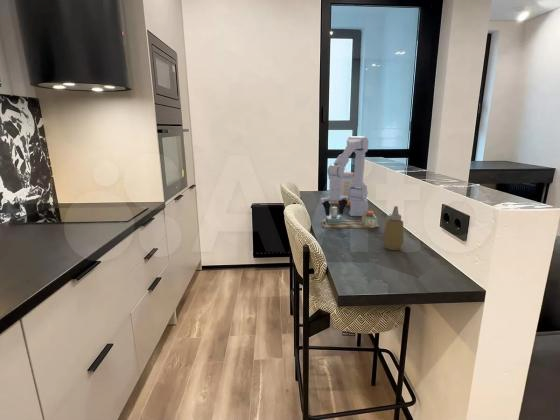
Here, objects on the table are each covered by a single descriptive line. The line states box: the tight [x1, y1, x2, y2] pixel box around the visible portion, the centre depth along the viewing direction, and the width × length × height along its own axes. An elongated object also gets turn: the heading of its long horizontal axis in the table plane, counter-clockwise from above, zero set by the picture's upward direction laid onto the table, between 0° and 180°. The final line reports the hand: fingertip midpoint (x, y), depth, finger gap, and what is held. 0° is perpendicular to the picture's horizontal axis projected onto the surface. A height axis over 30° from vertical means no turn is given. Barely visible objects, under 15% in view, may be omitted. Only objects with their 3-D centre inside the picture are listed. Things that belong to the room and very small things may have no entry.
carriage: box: [326, 206, 343, 224], centre depth 166 cm, size 7×7×8 cm
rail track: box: [321, 218, 380, 229], centre depth 167 cm, size 28×9×3 cm, turn 87°
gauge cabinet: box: [361, 213, 378, 226], centre depth 166 cm, size 6×8×5 cm
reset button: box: [365, 210, 375, 217], centre depth 165 cm, size 4×4×4 cm
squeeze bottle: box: [382, 205, 405, 251], centre depth 133 cm, size 8×8×18 cm
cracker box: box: [330, 171, 354, 207], centre depth 207 cm, size 14×6×21 cm, turn 58°
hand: (334, 214), depth 166 cm, fingers open, 7 cm apart
